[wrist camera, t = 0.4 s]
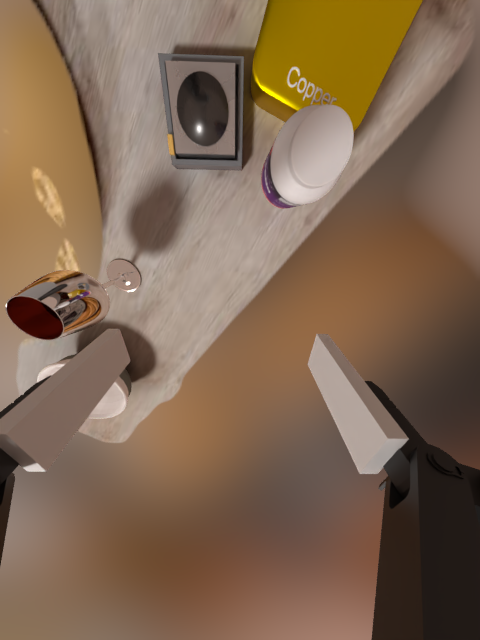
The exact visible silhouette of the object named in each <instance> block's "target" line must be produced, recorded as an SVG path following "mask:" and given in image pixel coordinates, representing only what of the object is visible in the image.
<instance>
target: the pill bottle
mask: <svg viewBox="0 0 480 640" xmlns="http://www.w3.org/2000/svg"><path fill="white" fill-rule="evenodd" d="M353 141H354V132H353V126H352V122H351V120H350V118H349V116H348V114H347V113H346V112H345V111H344V110H343V109H342V108H340V107H338V106H336V105H311V106H307V107H304V108H302V109H300V110H299V111H297V112H296V113H295V114H293V115H292V116H291V117H290V118H289V119H288V120H287V121H286V122H285V124H284V125H283V127H282V128H281V130H280V131H279V133H278V135H277V137H276V139H275V142H274V144H273V146H272V148H271V150H270V152H269V154H268V156H267V158H266V160H265V163H264V165H263V169H262V173H261V186H262V190H263V193H264V195H265V197H266V199H267V200H268V201H269V202H270V203H271V204H272V205H274V206H275V207H278V208H291V207H295V206H300V205H304V204H309V203H312V202H315V201H317V200H319V199H321V198H322V197H323V196H325V195H326V194H327V193H328V192H329V191H330V190H331V189H332V188H333V187H334V186H335V184H336V183H337V181H338V180H339V178H340V176H341V174H342V172H343V170H344V168H345V166H346V164H347V162H348V160H349V158H350V155H351V152H352V148H353Z"/></svg>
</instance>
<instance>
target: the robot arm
mask: <svg viewBox="0 0 480 640" xmlns="http://www.w3.org/2000/svg"><path fill="white" fill-rule="evenodd" d="M130 361H131V360H130V357H129V354H128V351H127V349H126V346H125V343H124V340H123V337H122V334H121V331H120V329H107V330H106V331H104V332H103V333H102V334H101V335H100V336H98V337H97V338H96V339H95V340H94V341H93V342H91V343H90V344H89V345H88V346H87V347H85V348H84V349H83V350H82V351H81V352H79V353H78V354H77V355H76V356H75V357H73V358H72V359H71V360H70V361H69V362H68V363H66V364H65V365H64V366H63V367H62V368H60V369H59V370H58V371H57V372H56V373H54V374H53V375H52V376H48V377H46V378H45V379H43V380H41V381H39V382H38V383H36V384H35V385H33V386H32V387H31V388H30V389H28V390H27V391H26V392H25V393H24V395H21V396H20V397H19V398H17V399H16V400H15V401H14V403H11V404H10V405H9V406H7V407H6V408H5V409H4V410H3V411H1V412H0V565H1V558H2V552H3V547H4V541H5V535H6V529H7V523H8V517H9V511H10V505H11V499H12V493H13V487H14V482H15V476H14V474H13V473H12V472H13V471H14V469H15V468H16V467H17V466H18V465H20V466H22V467H23V468H24V469H25V470H26V471H39V472H41V471H43V472H46V471H47V470H48V469H49V467H50V466H51V465H52V464H53V462H54V461H55V459H56V458H57V457H58V456H59V454H60V453H61V452H62V450H63V449H64V448H65V446H66V445H67V444H68V442H69V441H70V440H71V439H72V437H73V436H74V435H75V433H76V432H77V431H78V429H79V428H80V427H81V425H82V424H83V423H84V421H85V420H86V419H87V418H88V416H89V415H90V414H91V412H92V411H93V410H94V408H95V407H96V406H97V404H98V403H99V402H100V400H101V399H102V398H103V396H104V395H105V394H106V393H107V391H108V390H109V389H110V387H111V386H112V385H113V383H114V382H115V381H116V379H117V378H118V377H119V375H120V374H121V373H122V371H123V370H124V369H125V368H126V366H127V365H128V364H129V362H130ZM308 366H309V368H310V370H311V372H312V374H313V377H314V379H315V381H316V383H317V385H318V387H319V389H320V391H321V393H322V396H323V398H324V400H325V402H326V404H327V406H328V408H329V410H330V412H331V414H332V416H333V418H334V421H335V423H336V425H337V427H338V429H339V431H340V433H341V435H342V438H343V440H344V442H345V444H346V446H347V448H348V450H349V452H350V454H351V457H352V459H353V461H354V463H355V465H356V467H357V469H358V471H359V473H360V474H377V473H378V472H379V471H380V470H381V469H382V468H383V467H384V469H385V471H386V472H387V474H388V477H387V478H386V479H385V480H384V481H383V482H382V483H381V484H380V486H379V489H380V490H382V489H384V488H385V497H384V508H383V519H382V530H381V542H380V553H379V564H378V576H377V586H376V597H375V609H374V619H373V631H372V640H480V470H478V469H475V468H472V467H468V466H466V465H462V464H459V463H458V462H457V461H456V460H454V459H453V458H452V457H451V456H450V455H449V454H447V453H446V452H444V451H443V450H441V449H440V448H437V447H435V446H432V445H429V444H427V443H426V441H424V439H423V438H422V437H421V436H420V435H419V433H418V432H417V431H416V430H415V429H414V427H413V426H412V425H411V424H410V423H409V422H408V420H407V419H406V418H405V417H404V416H403V414H402V413H401V412H400V411H399V410H398V409H397V408H396V406H395V405H394V404H393V402H392V401H390V400H389V398H388V396H387V395H386V394H385V393H384V392H383V390H382V389H380V388H379V387H378V386H377V385H375V384H374V383H373V382H371V381H364V380H363V379H362V378H361V376H360V375H359V374H358V372H357V371H356V370H355V369H354V367H353V366H352V365H351V363H350V362H349V361H348V360H347V358H346V357H345V356H344V354H343V353H342V352H341V351H340V349H339V348H338V347H337V346H336V344H335V343H334V342H333V340H332V339H331V338H330V336H329V335H328V334H317V335H316V338H315V341H314V345H313V348H312V352H311V355H310V358H309V362H308Z"/></svg>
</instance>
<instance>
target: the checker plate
mask: <svg viewBox="0 0 480 640" xmlns="http://www.w3.org/2000/svg"><path fill="white" fill-rule="evenodd" d="M165 63H166V72H167V80H168V89H169V97H170V106H171V115H172V123H173V132H174V140H175V149H176V154H177V155H178V156H179V157H180V158H211V159H235V63H222V62H193V61H165Z"/></svg>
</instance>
